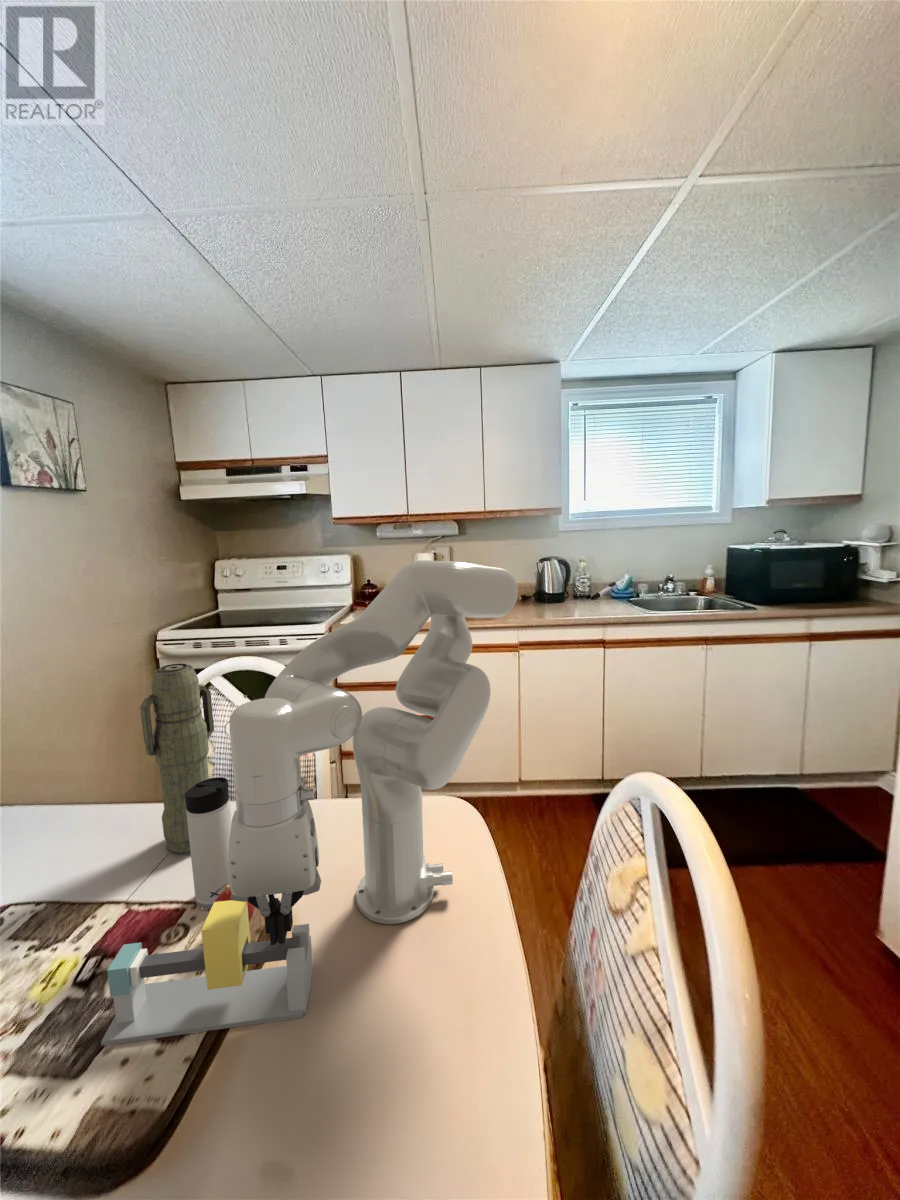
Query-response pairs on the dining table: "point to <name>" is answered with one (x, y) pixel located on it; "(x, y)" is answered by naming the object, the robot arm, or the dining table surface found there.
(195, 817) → the travel mug
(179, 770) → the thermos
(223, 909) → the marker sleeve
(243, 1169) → the dining table surface
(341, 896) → the dining table surface
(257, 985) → the grey long frame
